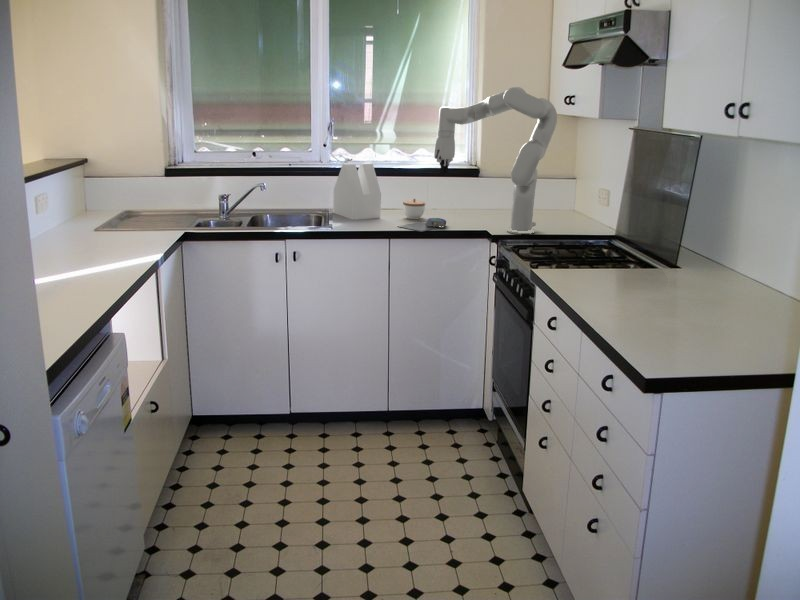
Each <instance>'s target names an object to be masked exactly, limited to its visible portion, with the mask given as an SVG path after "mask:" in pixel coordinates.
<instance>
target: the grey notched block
mask: <svg viewBox="0 0 800 600" xmlns="http://www.w3.org/2000/svg"><path fill="white" fill-rule="evenodd" d="M332 204H333V207H332V209H333V211H332V212H333V214H335V215H338V216H341V217H344V218H346V219H350V220H352V221H353V220H366V219H368V220H369V219H380V218H381V208H382V206H381V205H382V192H381V189H380V185H379V181H378V177H377V174H376V170H375V166H374V163H372V162H365V163H364V162H363V163H359V166H358V168H357V165H356V163H342V165H341V168H340V170H339V173H338V176H337V179H336V182H335V185H334V188H333V202H332Z"/></svg>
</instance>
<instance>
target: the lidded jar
mask: <svg viewBox="0 0 800 600" xmlns="http://www.w3.org/2000/svg"><path fill="white" fill-rule="evenodd" d="M402 204H403V206H402V207H403V214H404V216H405V217H406V218H407V219H409V220H419V219H421V217H422V216H423V215H424V214H425V209H426V202H425V201H423V200H416V198H413V200H405V201H404V200H403V203H402Z"/></svg>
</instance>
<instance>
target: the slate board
mask: <svg viewBox="0 0 800 600" xmlns="http://www.w3.org/2000/svg"><path fill="white" fill-rule="evenodd" d="M425 224H426V222H422V221H418V222H414V223H407V224H402V225H397V228H400V229H401V228H402V229H405V230H411V231H415V232H420V233H423V232H426V231H427V232H428V231H433V230H438V229H441V228H440V227H434V226H430V227H427V226H426V225H425Z"/></svg>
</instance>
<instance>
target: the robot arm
mask: <svg viewBox="0 0 800 600" xmlns="http://www.w3.org/2000/svg"><path fill="white" fill-rule="evenodd" d="M510 110H515V111H516V112H518V113H521V114H523V115H524V116H526V117H529V118H531V119H534V120H537V121H536V122H537V123H536V124H535V126H534V128H533V130H532V133H531V136H530V138H529V140H528V141H526V142H525V143H524V144H523V145H522V146H521V147H520V149H519V152H518V154H517V156H516V158H515V162H514V164H513V166H512V168H511V171H510V179H511V182H512V183H513V184H514V186H513V187H514V188H513V192H512V193H513V195H512V203H511V204H512V205H511V220H510V227H511V229H512V230H517V231H528V230H531V229H533V227H536V226H537V223H536V222H535V221H533V216H534V205H535V204H534V203H535V195H536V194H535V193H536V186H537V181H538V170H537V167H538V164H539V162H540V161H541V160H543V158H544V157H545V155H546V152H547V149H548V147H549V145H550V143H551V140H552V137H553V134H554V132H555V130H556V128H557V127H556V126H557V124H558V113H557V109H556V107H555V106H554V104H553V103H552V101H550V100H549V99H547V98H543V97H540V98H538V97H536V96H534V95H531V94H529V93H527V92H526V90H525V89H524V88H522V87H521V86H520V87H519V86H513V87H510V88H508V89H507V90H504V91H502V92H498V93H496V94H493V95H490V96H488V97H486V99H484V100H481V101H480V102H477V103H475V104H472V105H468V106H462V107H453V106H441V107H440V108H439V112H438V129H437V130H438V131H437V138H436V140H435V144H434V145H435V146H434V155H433V157H434V159H436V163H439V166H440V172H439V173H440V175H443V176H447V175H448V173H449V166H450V163H451V162H453V160H454V158H455V152H456V141H455V140H456V139H455V134H456V133H455V131H456V125H468V124H471V123H474V122H477V121H479V120H480V121H481V120H484V119H486V118H489V117H494V116H496V115H500V114H503V113H505V112H508V111H510ZM506 232H508V233H510V234H513V235H521V234H529V235H531V234H530V233H518V232H512V231H509V230H507V229H506ZM532 233H533V232H532Z"/></svg>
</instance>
